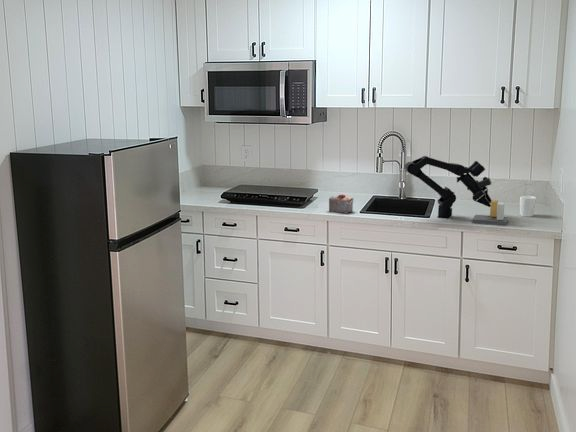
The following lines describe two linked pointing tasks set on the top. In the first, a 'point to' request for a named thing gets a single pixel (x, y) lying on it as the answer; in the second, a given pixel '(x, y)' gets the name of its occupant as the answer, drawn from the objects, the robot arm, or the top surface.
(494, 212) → the amber slider
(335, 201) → the food item
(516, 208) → the top surface
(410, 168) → the robot arm
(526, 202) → the white cup
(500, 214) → the grey slider
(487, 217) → the grey slotted board
